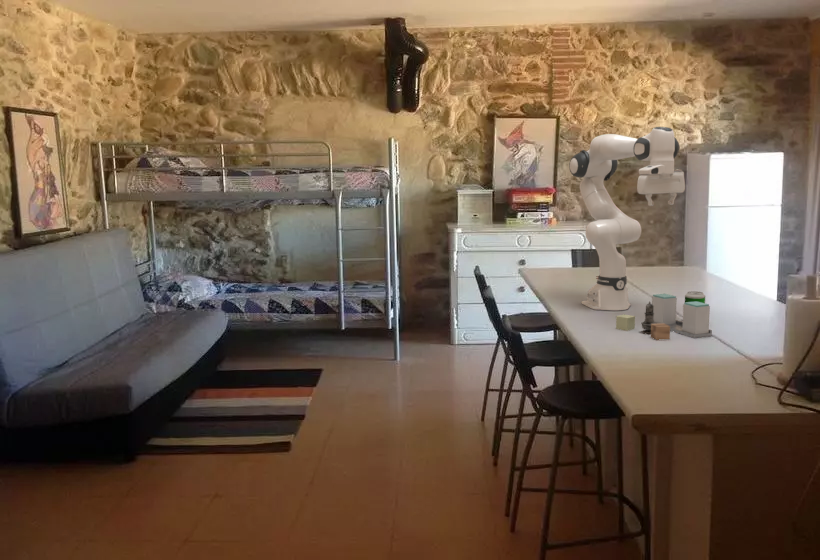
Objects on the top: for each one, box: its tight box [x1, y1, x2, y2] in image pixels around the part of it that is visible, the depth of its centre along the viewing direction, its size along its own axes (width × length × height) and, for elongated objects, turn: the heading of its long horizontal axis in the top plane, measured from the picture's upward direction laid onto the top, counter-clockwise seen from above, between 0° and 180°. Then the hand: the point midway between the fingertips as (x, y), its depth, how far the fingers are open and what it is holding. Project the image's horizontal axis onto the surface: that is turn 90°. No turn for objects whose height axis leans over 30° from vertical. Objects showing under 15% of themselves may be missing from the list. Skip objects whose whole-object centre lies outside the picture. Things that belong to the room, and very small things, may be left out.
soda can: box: [684, 290, 706, 304], centre depth 299 cm, size 8×8×12 cm
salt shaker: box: [640, 301, 657, 335], centre depth 283 cm, size 6×6×12 cm
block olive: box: [615, 314, 636, 332], centre depth 291 cm, size 5×5×5 cm
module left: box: [651, 293, 678, 324], centre depth 295 cm, size 7×6×11 cm
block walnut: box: [650, 323, 671, 341], centre depth 275 cm, size 5×5×5 cm
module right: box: [682, 301, 711, 334], centre depth 278 cm, size 7×6×11 cm
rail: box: [655, 319, 713, 339], centre depth 288 cm, size 26×8×2 cm, turn 20°
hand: (660, 205), depth 294 cm, fingers open, 8 cm apart
